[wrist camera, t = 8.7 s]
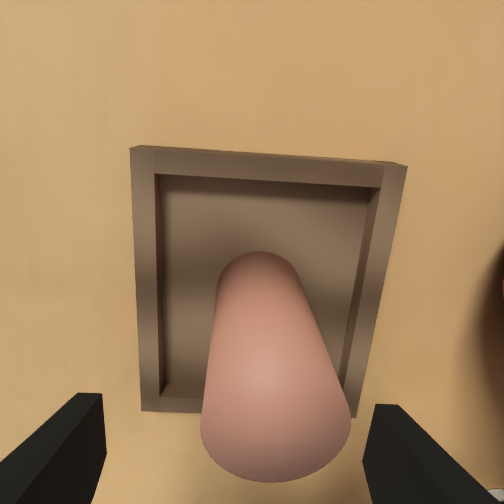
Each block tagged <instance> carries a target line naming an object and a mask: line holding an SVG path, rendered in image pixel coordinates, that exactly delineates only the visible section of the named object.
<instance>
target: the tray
mask: <svg viewBox="0 0 504 504" xmlns="http://www.w3.org/2000/svg"><path fill="white" fill-rule="evenodd" d="M130 167H131V190H132V212H133V234H134V257H135V279H136V302H137V324H138V346H139V369H140V391H141V411H152V412H184V413H202V407H203V399H204V390H205V382H206V374H207V366H208V357H209V349H210V341H211V333H212V324H213V316H214V308H215V300H216V292H217V284H218V280H219V277H220V275H221V273H222V271H223V270H224V268H225V267H226V266H227V265H228V264H229V263H230V262H231V261H232V260H234V259H235V258H237V257H239V256H241V255H243V254H246V253H250V252H257V251H263V252H270V253H274V254H276V255H279V256H281V257H283V258H284V259H286V260H287V261H288V262H289V263H290V264H291V265H292V266H293V267H294V268H295V270H296V272H297V274H298V276H299V278H300V281H301V284H302V286H303V289H304V291H305V294H306V297H307V299H308V302H309V304H310V307H311V310H312V312H313V315H314V317H315V320H316V323H317V325H318V328H319V330H320V333H321V336H322V338H323V341H324V343H325V346H326V349H327V351H328V354H329V356H330V359H331V362H332V364H333V367H334V369H335V372H336V375H337V377H338V380H339V382H340V385H341V388H342V390H343V393H344V395H345V398H346V401H347V403H348V406H349V410H350V415H351V418H356V414H357V409H358V405H359V400H360V395H361V390H362V385H363V380H364V376H365V371H366V366H367V361H368V356H369V351H370V347H371V342H372V337H373V332H374V327H375V322H376V318H377V313H378V308H379V303H380V298H381V293H382V289H383V284H384V279H385V274H386V269H387V264H388V260H389V255H390V250H391V245H392V240H393V235H394V231H395V226H396V221H397V216H398V211H399V206H400V202H401V197H402V192H403V187H404V182H405V177H406V173H407V168H408V166H405V165H401V164H397V163H394V162H384V161H369V160H354V159H339V158H325V157H310V156H295V155H280V154H265V153H250V152H235V151H220V150H205V149H190V148H175V147H160V146H145V145H139V146H135V147H131V148H130Z"/></svg>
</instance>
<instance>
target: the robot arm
mask: <svg viewBox="0 0 504 504" xmlns="http://www.w3.org/2000/svg"><path fill="white" fill-rule="evenodd" d="M106 455H107V450H106V437H105V424H104V412H103V399H102V393H77V394H76V395H75V396H73V397H72V398H71V399H70V400H69V401H68V402H67V403H66V404H64V405H63V406H62V407H61V408H60V409H59V410H58V411H57V412H56V413H55V414H54V415H52V416H51V417H50V418H49V419H48V420H47V421H46V422H45V423H44V424H43V425H42V426H40V427H39V428H38V429H37V430H36V431H35V432H34V433H33V434H32V435H31V436H29V437H28V438H27V439H26V440H25V441H24V442H23V443H21V444H20V445H19V446H18V447H17V448H16V449H15V450H13V451H12V452H11V453H10V454H9V455H8V456H7V457H6V458H4V459H3V460H2V461H1V462H0V504H91V502H92V499H93V497H94V494H95V491H96V487H97V484H98V481H99V478H100V475H101V472H102V468H103V465H104V461H105V458H106ZM362 462H363V466H364V471H365V475H366V479H367V483H368V487H369V491H370V495H371V499H372V503H373V504H502V503H501V502H500V501H499V500H497V499H496V498H495V497H494V496H493V495H492V494H491V493H489V492H488V491H487V490H486V489H485V488H484V487H483V486H482V485H481V484H480V483H479V482H477V481H476V480H475V479H474V478H473V477H472V476H471V475H470V474H469V473H468V472H467V471H466V470H465V469H464V468H463V467H461V466H460V465H459V464H458V463H457V462H456V461H455V460H454V459H453V458H452V457H451V456H450V455H449V454H448V453H447V452H446V451H445V450H444V449H443V448H442V447H441V446H440V445H439V444H438V443H437V442H436V441H435V440H434V439H433V438H432V437H431V436H430V435H429V434H428V433H427V432H426V431H425V430H423V429H422V428H421V427H420V426H419V425H418V424H417V423H416V422H415V421H414V420H413V419H412V418H411V417H410V416H409V415H408V414H407V413H406V412H405V411H404V410H403V409H402V408H401V407H400V406H399V405H392V404H376V405H375V409H374V413H373V418H372V422H371V426H370V430H369V435H368V439H367V443H366V447H365V452H364V456H363V460H362Z"/></svg>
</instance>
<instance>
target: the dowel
mask: <svg viewBox="0 0 504 504" xmlns="http://www.w3.org/2000/svg"><path fill="white" fill-rule="evenodd" d="M350 426H351V415H350V410H349V406H348V403H347V401H346V398H345V395H344V393H343V390H342V388H341V385H340V382H339V380H338V377H337V375H336V372H335V369H334V367H333V364H332V362H331V359H330V356H329V354H328V351H327V349H326V346H325V343H324V341H323V338H322V336H321V333H320V330H319V328H318V325H317V323H316V320H315V317H314V315H313V312H312V310H311V307H310V304H309V302H308V299H307V297H306V294H305V291H304V289H303V286H302V284H301V281H300V278H299V276H298V274H297V272H296V270H295V268H294V267H293V266H292V265H291V264H290V263H289V262H288V261H287V260H286V259H284V258H283V257H281V256H279V255H276V254H274V253H270V252H263V251H257V252H250V253H246V254H243V255H241V256H239V257H237V258H235V259H234V260H232V261H231V262H230V263H229V264H228V265H227V266H226V267H225V268H224V270H223V271H222V273H221V275H220V277H219V280H218V284H217V292H216V300H215V308H214V316H213V324H212V333H211V341H210V349H209V357H208V366H207V374H206V382H205V390H204V399H203V407H202V415H201V425H200V431H201V438H202V441H203V444H204V446H205V449H206V451H207V452H208V454H209V455H210V457H211V458H212V459H213V460H214V461H215V462H216V463H217V464H218V465H219V466H221V467H222V468H223V469H225V470H226V471H228V472H230V473H232V474H234V475H236V476H238V477H241V478H244V479H248V480H252V481H258V482H270V483H273V482H285V481H291V480H295V479H299V478H302V477H305V476H307V475H310V474H312V473H314V472H316V471H318V470H319V469H321V468H323V467H324V466H325V465H327V464H328V463H329V462H330V461H332V460H333V459H334V458H335V457H336V456H337V454H338V453H339V452H340V451H341V449H342V448H343V446H344V444H345V443H346V440H347V438H348V435H349V432H350Z"/></svg>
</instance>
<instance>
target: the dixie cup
mask: <svg viewBox="0 0 504 504" xmlns="http://www.w3.org/2000/svg"><path fill="white" fill-rule="evenodd" d="M487 491H488V492H489V493H491V494H492V495H493V496H494V497H495V498H496V499H497V500H499V501H500V502H501V503H502V504H504V489H491V490H487Z"/></svg>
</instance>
